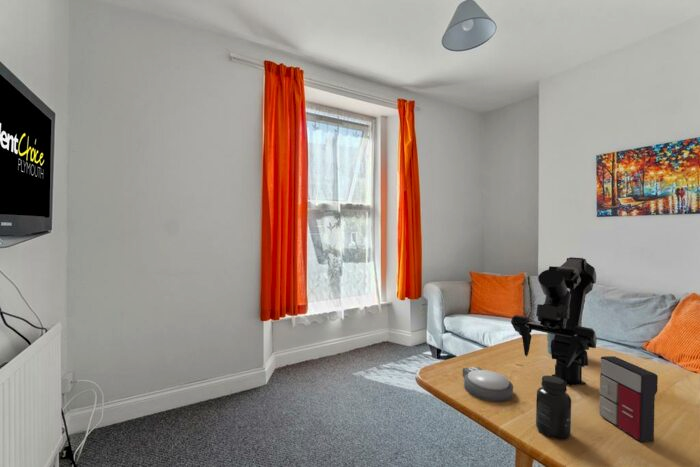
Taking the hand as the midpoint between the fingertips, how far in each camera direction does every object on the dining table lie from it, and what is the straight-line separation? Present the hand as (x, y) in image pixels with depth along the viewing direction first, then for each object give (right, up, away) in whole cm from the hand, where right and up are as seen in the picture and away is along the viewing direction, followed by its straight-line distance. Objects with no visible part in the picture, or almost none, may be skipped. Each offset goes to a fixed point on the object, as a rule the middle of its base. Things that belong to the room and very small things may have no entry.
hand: (545, 360), depth 82 cm
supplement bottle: (-3, -14, -8) cm, 16 cm away
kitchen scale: (-10, -13, +13) cm, 21 cm away
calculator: (+15, -14, -6) cm, 21 cm away
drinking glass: (+31, -14, +42) cm, 54 cm away
